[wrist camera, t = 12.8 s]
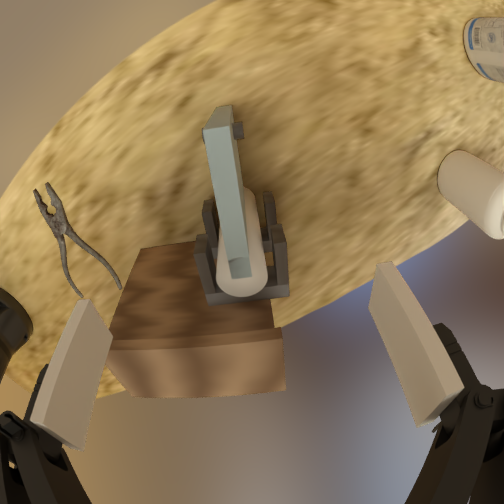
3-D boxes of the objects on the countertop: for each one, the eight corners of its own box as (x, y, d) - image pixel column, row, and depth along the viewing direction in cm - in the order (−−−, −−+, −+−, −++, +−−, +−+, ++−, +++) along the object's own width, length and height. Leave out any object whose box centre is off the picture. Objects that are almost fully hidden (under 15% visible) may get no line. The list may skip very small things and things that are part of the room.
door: (224, 219, 35) (221, 299, 24) (205, 109, 28) (183, 133, 16) (257, 214, 35) (269, 293, 24) (243, 103, 28) (249, 123, 16)
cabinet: (156, 295, 42) (132, 397, 28) (123, 210, 34) (64, 307, 19) (278, 281, 41) (298, 388, 27) (270, 186, 33) (298, 284, 19)
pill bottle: (473, 144, 30) (547, 189, 18) (472, 192, 34) (535, 246, 22) (434, 152, 31) (512, 203, 19) (435, 204, 35) (499, 266, 23)
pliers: (87, 305, 42) (11, 213, 31) (88, 302, 43) (14, 210, 32) (126, 287, 40) (44, 179, 29) (128, 284, 41) (47, 177, 30)
